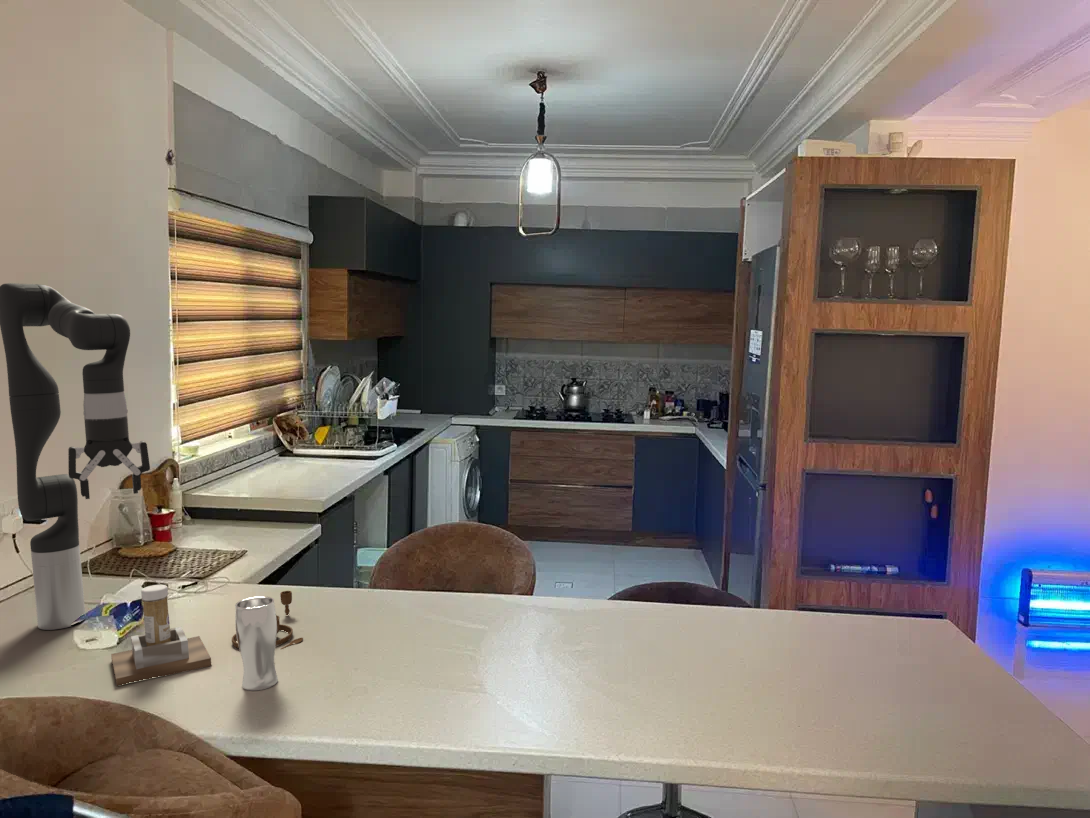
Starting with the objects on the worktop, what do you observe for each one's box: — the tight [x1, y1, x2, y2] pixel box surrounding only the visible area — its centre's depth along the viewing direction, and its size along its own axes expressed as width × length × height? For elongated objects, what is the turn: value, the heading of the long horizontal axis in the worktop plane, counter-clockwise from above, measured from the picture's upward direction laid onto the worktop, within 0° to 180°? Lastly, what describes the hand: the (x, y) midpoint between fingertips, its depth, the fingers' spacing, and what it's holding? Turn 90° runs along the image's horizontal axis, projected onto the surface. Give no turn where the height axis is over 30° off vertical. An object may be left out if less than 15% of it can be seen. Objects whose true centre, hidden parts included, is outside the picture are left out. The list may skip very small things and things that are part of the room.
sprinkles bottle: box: [140, 584, 171, 646], centre depth 156 cm, size 5×5×13 cm
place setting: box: [231, 590, 304, 650], centre depth 171 cm, size 18×20×6 cm
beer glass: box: [234, 596, 279, 691], centre depth 145 cm, size 7×7×15 cm
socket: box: [110, 626, 212, 687], centre depth 157 cm, size 14×16×5 cm
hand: (111, 495), depth 163 cm, fingers open, 8 cm apart
